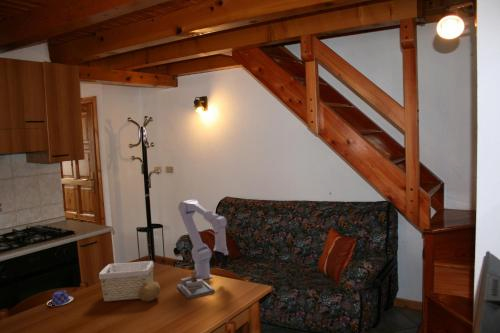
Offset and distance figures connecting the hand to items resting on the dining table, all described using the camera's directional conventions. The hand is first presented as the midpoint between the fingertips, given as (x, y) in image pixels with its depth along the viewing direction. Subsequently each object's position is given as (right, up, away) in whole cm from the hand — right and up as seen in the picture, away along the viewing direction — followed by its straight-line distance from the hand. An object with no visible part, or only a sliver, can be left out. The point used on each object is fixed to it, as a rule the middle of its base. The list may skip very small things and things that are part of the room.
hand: (222, 265), depth 211 cm
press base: (-13, -11, -8) cm, 19 cm away
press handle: (-13, -9, -7) cm, 18 cm away
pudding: (-79, -15, -14) cm, 82 cm away
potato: (-34, -13, -17) cm, 40 cm away
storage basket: (-46, -13, -10) cm, 49 cm away
